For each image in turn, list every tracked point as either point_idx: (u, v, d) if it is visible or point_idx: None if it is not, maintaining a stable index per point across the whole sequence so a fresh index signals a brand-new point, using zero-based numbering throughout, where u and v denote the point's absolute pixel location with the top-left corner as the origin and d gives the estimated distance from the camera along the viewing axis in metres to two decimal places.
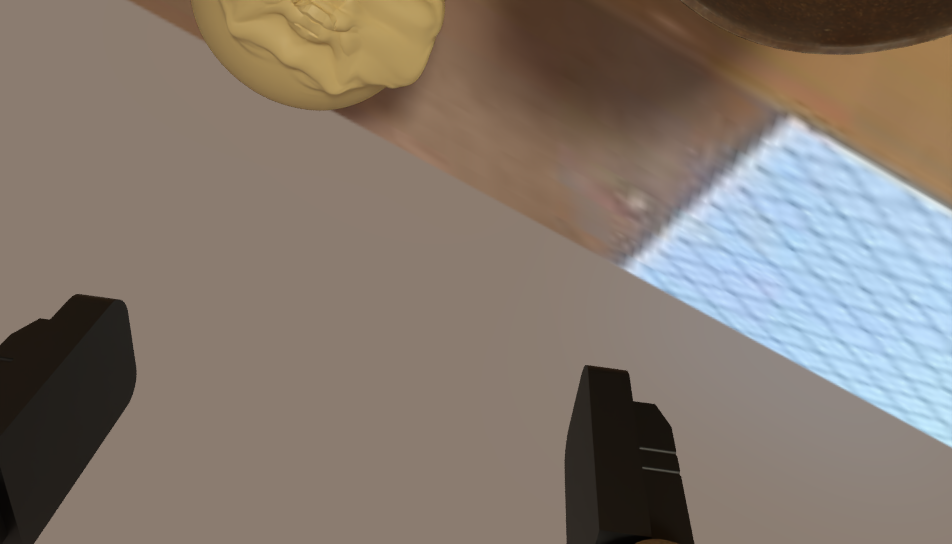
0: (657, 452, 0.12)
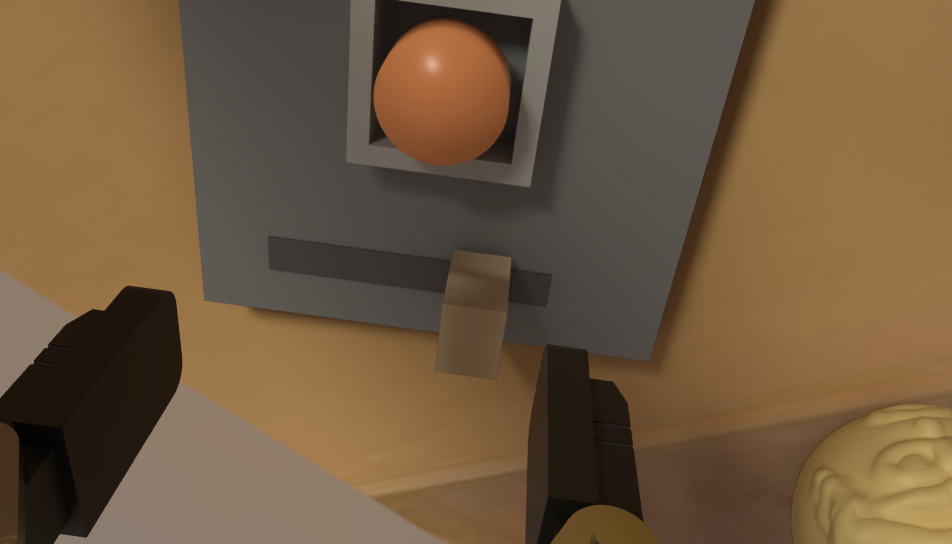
0: (612, 426, 0.12)
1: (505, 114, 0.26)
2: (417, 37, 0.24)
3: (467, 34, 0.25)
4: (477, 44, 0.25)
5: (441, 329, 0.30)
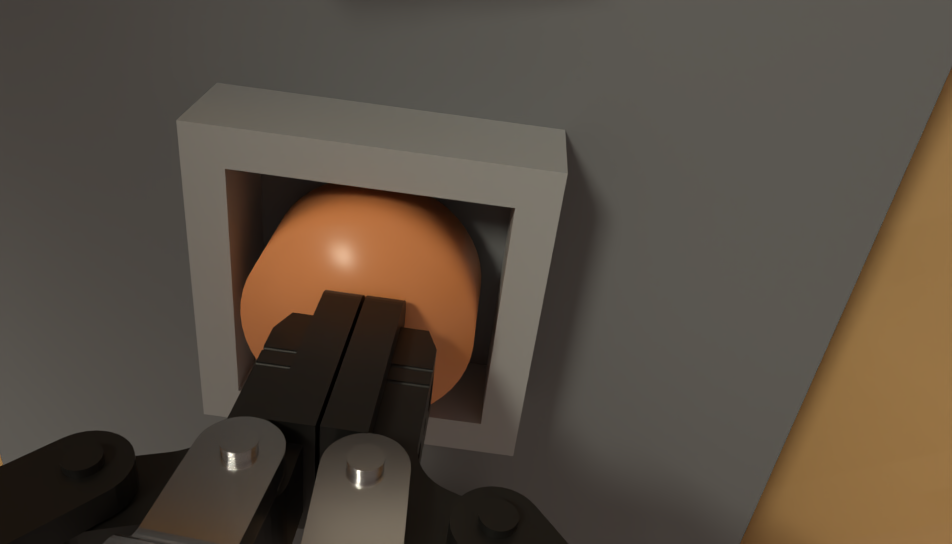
0: (414, 370, 0.13)
1: (469, 349, 0.15)
2: (307, 231, 0.14)
3: (400, 219, 0.14)
4: (417, 240, 0.14)
5: None
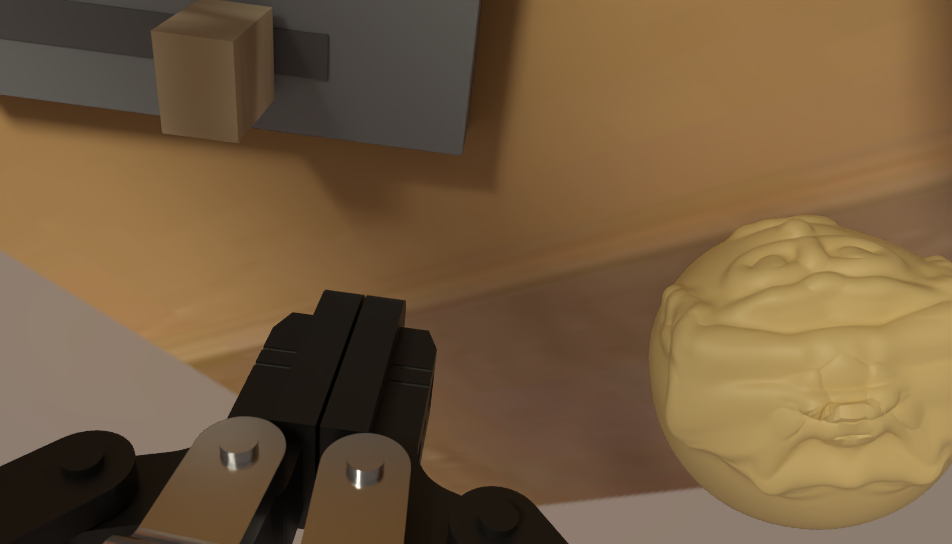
0: (414, 369, 0.13)
1: None
2: None
3: None
4: None
5: (157, 69, 0.23)
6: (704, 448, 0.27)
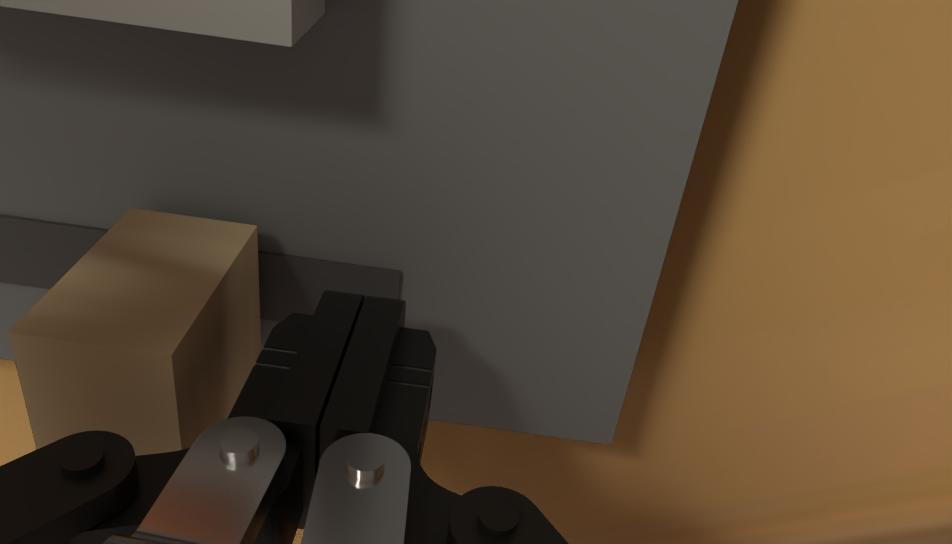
0: (414, 369, 0.13)
1: None
2: None
3: None
4: None
5: (27, 393, 0.12)
6: None
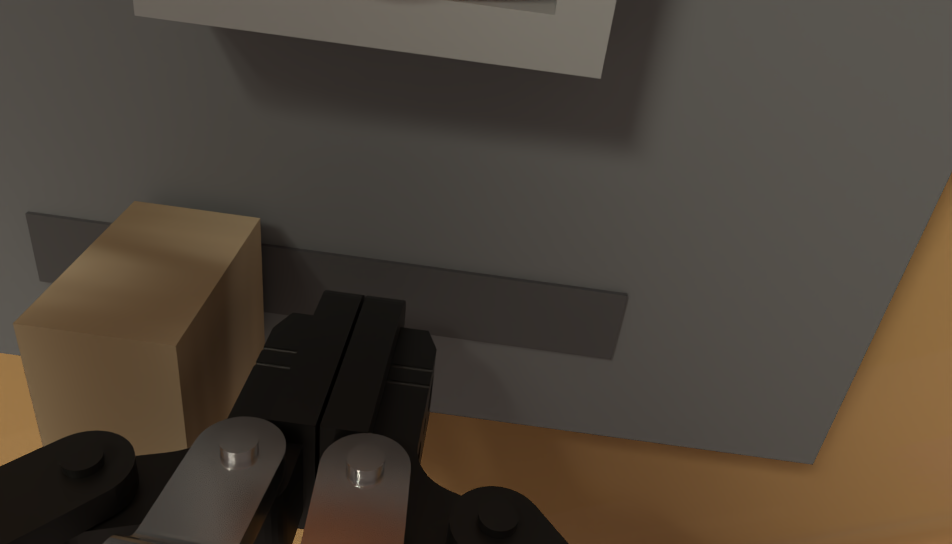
0: (414, 370, 0.13)
1: None
2: None
3: None
4: None
5: (31, 384, 0.12)
6: None
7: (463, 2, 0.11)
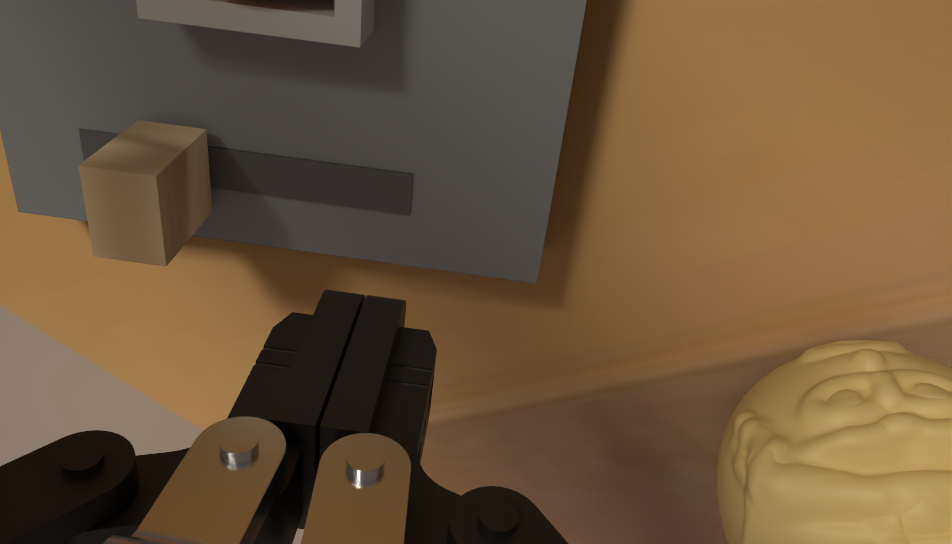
0: (414, 370, 0.13)
1: None
2: None
3: None
4: None
5: (85, 200, 0.24)
6: None
7: (291, 11, 0.23)
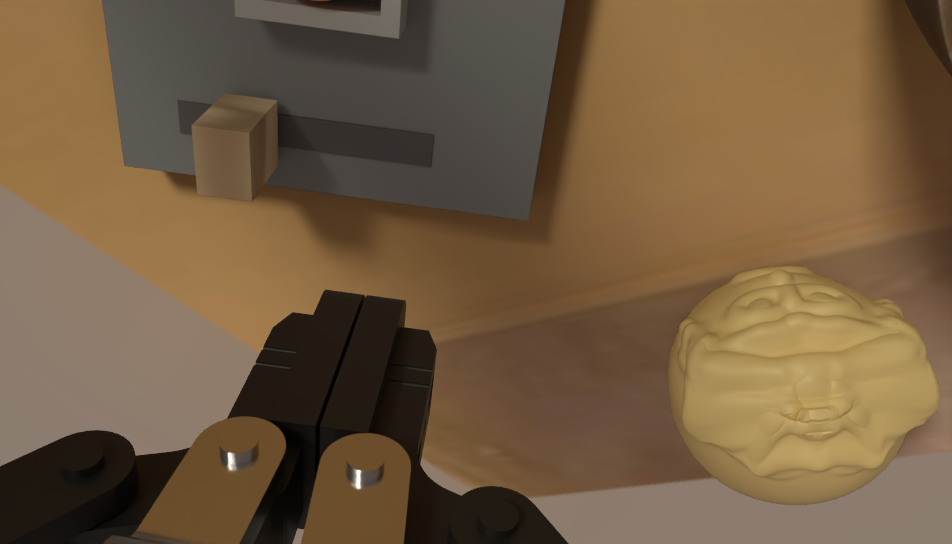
0: (414, 369, 0.13)
1: None
2: None
3: None
4: None
5: (195, 151, 0.33)
6: (711, 442, 0.36)
7: (349, 12, 0.32)
